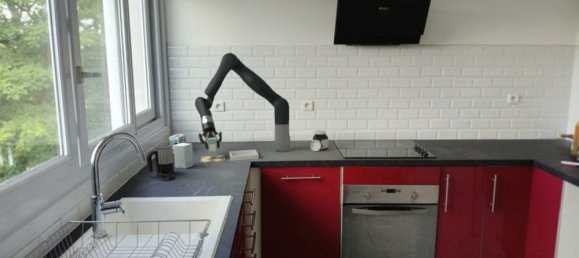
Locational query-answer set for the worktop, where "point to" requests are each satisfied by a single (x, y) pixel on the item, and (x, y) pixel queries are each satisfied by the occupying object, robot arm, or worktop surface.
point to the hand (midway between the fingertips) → (213, 148)
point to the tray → (243, 155)
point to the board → (212, 158)
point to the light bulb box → (177, 140)
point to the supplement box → (183, 155)
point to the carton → (212, 146)
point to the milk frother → (161, 160)
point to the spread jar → (320, 141)
